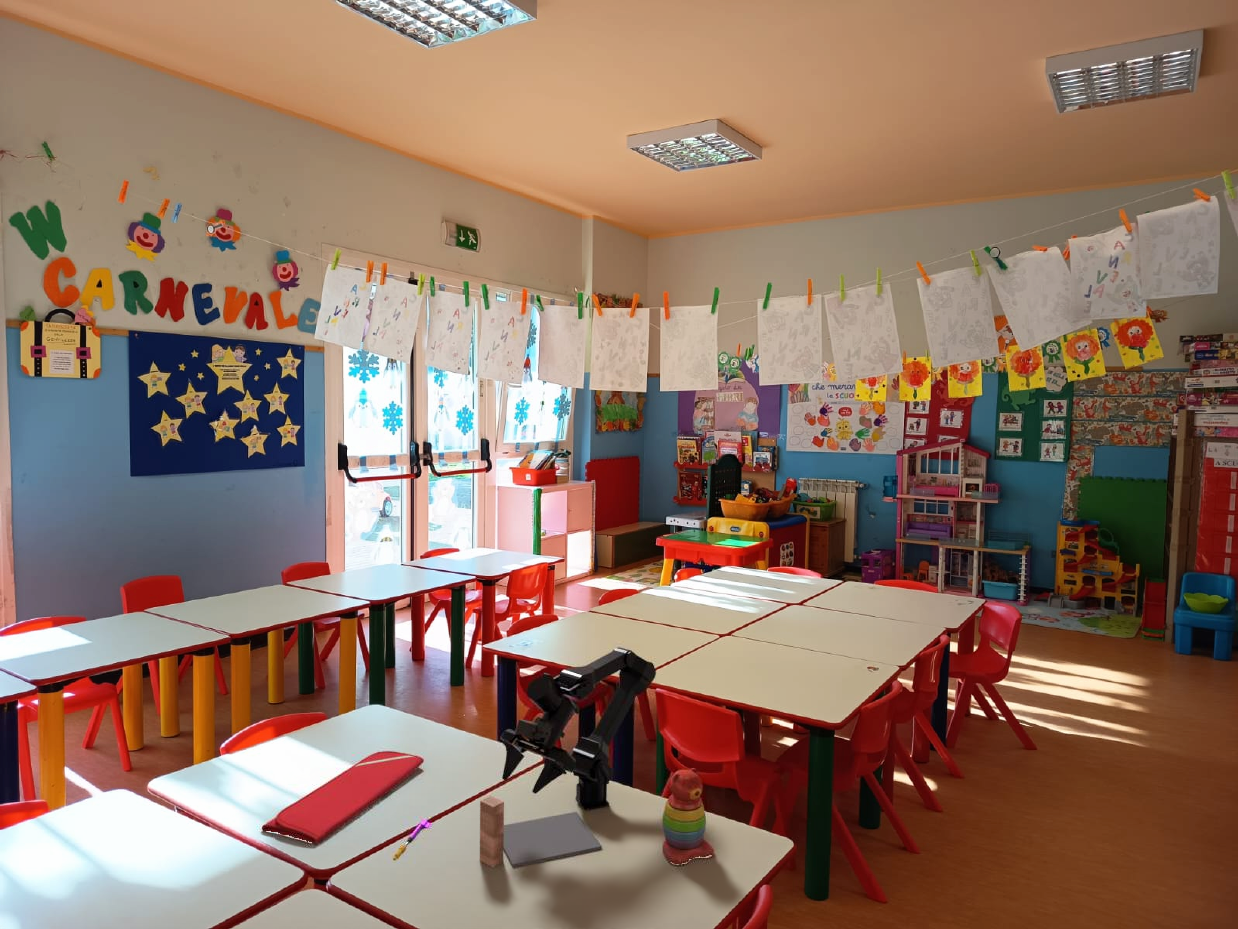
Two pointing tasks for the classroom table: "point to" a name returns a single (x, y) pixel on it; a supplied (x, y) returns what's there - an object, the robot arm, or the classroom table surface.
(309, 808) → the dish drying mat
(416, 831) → the pink dart
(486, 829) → the terracotta block
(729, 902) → the classroom table surface
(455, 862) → the classroom table surface
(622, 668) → the robot arm
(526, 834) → the charcoal mat
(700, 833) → the stacking bear
